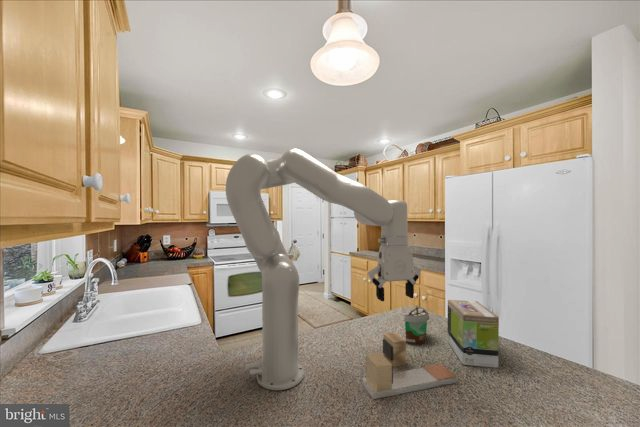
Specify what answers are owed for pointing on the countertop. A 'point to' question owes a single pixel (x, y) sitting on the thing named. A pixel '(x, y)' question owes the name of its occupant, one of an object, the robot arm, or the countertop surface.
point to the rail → (401, 377)
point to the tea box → (473, 333)
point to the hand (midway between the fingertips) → (395, 298)
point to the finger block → (394, 349)
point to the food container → (416, 326)
